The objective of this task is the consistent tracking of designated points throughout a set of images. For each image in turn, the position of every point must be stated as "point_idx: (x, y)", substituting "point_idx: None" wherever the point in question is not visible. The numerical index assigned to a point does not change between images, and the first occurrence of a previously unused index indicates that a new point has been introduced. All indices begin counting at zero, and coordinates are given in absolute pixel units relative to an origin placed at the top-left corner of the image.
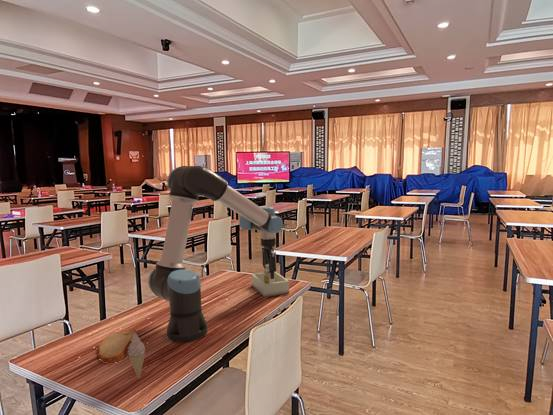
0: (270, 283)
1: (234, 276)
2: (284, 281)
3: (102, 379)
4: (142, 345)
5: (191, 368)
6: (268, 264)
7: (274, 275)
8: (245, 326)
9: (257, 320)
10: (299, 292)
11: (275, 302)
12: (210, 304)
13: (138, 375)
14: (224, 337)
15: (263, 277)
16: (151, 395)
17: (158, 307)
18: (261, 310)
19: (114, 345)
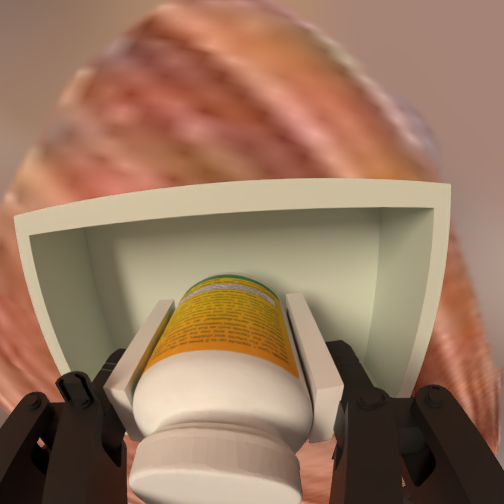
0: (410, 377)
1: (4, 373)
2: (446, 239)
3: None
4: None
5: (496, 442)
6: (170, 501)
7: (272, 325)
8: (490, 407)
9: (494, 385)
10: (404, 110)
11: (457, 318)
12: (308, 495)
13: None
14: (484, 432)
15: (82, 328)
16: (493, 453)
17: None
18: (467, 378)
19: None
